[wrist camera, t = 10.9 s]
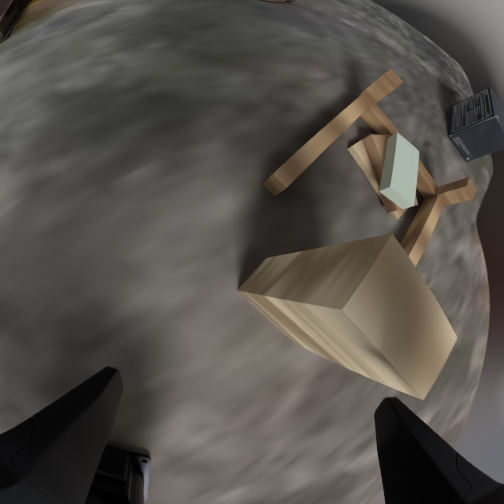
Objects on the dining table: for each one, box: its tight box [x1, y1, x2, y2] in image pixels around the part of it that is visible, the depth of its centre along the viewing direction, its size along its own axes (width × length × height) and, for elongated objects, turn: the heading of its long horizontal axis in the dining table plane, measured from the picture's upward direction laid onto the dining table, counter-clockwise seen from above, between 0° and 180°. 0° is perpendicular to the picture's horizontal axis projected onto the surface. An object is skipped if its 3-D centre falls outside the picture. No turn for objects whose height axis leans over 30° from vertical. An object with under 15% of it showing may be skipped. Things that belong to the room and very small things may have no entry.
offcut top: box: [379, 132, 419, 209], centre depth 24 cm, size 4×7×2 cm, turn 157°
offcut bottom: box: [348, 133, 407, 220], centre depth 27 cm, size 4×9×2 cm, turn 37°
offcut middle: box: [363, 135, 418, 213], centre depth 26 cm, size 4×8×2 cm, turn 16°
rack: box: [263, 69, 476, 267], centre depth 23 cm, size 17×16×7 cm
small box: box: [448, 87, 504, 162], centre depth 30 cm, size 11×6×10 cm, turn 147°
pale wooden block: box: [238, 234, 457, 400], centre depth 16 cm, size 4×7×14 cm, turn 47°
